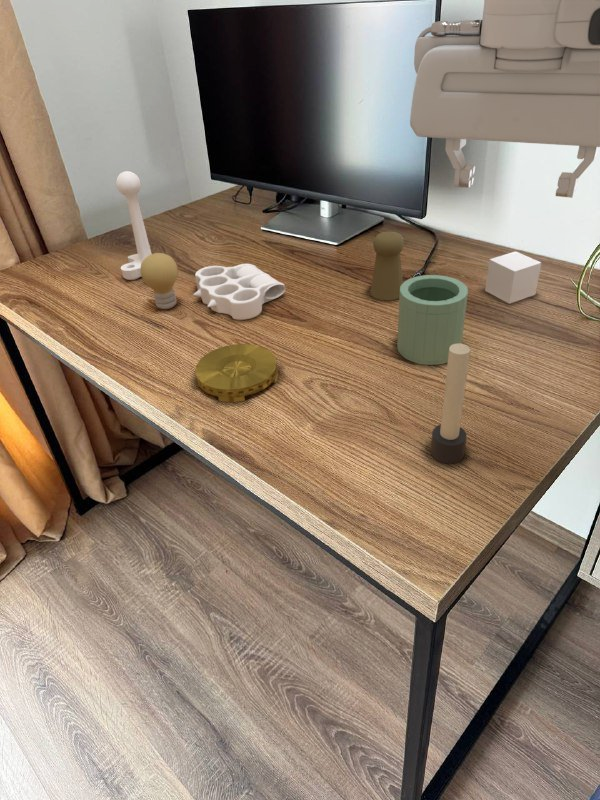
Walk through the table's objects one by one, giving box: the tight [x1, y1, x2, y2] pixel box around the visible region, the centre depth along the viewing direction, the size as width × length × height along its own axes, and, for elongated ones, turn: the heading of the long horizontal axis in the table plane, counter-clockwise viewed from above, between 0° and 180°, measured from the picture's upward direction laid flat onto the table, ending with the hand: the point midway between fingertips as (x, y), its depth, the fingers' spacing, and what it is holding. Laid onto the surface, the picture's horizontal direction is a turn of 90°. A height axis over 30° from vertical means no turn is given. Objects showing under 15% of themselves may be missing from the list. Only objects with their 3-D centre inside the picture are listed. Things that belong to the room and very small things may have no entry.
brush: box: [430, 343, 471, 465], centre depth 67 cm, size 4×4×15 cm
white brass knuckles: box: [192, 263, 287, 321], centre depth 108 cm, size 3×18×15 cm
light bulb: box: [140, 252, 179, 310], centre depth 104 cm, size 6×6×10 cm
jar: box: [396, 274, 469, 366], centre depth 88 cm, size 10×10×10 cm
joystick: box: [115, 170, 153, 281], centre depth 113 cm, size 11×8×20 cm
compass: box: [194, 343, 279, 403], centre depth 87 cm, size 12×12×2 cm
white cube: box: [484, 251, 542, 305], centre depth 102 cm, size 6×6×6 cm
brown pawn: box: [369, 231, 405, 301], centre depth 103 cm, size 6×6×11 cm
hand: (512, 190), depth 56 cm, fingers open, 8 cm apart
